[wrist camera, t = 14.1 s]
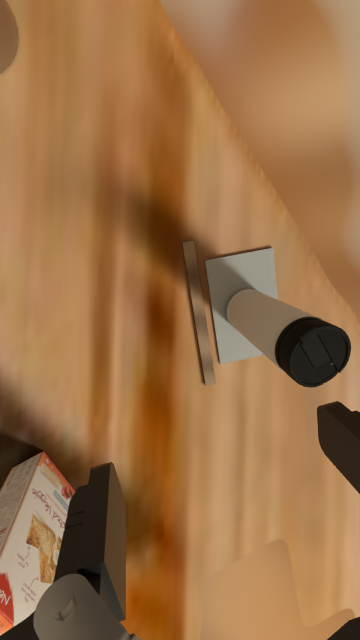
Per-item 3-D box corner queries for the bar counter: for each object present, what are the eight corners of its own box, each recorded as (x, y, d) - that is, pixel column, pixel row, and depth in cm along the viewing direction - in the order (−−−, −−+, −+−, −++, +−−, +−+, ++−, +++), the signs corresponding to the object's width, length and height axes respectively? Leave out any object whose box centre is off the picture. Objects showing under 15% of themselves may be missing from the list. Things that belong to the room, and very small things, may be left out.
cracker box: (94, 508, 52) (70, 678, 32) (62, 525, 52) (18, 706, 32) (45, 447, 48) (-16, 599, 28) (10, 466, 48) (-77, 631, 28)
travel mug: (250, 277, 45) (337, 308, 26) (272, 312, 47) (368, 365, 28) (215, 302, 45) (276, 351, 26) (238, 337, 47) (311, 405, 28)
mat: (204, 260, 44) (205, 260, 44) (271, 247, 45) (273, 247, 45) (219, 363, 48) (220, 364, 48) (280, 349, 49) (281, 350, 49)
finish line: (181, 242, 43) (182, 242, 42) (193, 240, 43) (193, 240, 42) (205, 384, 49) (205, 386, 48) (214, 382, 49) (215, 384, 49)
